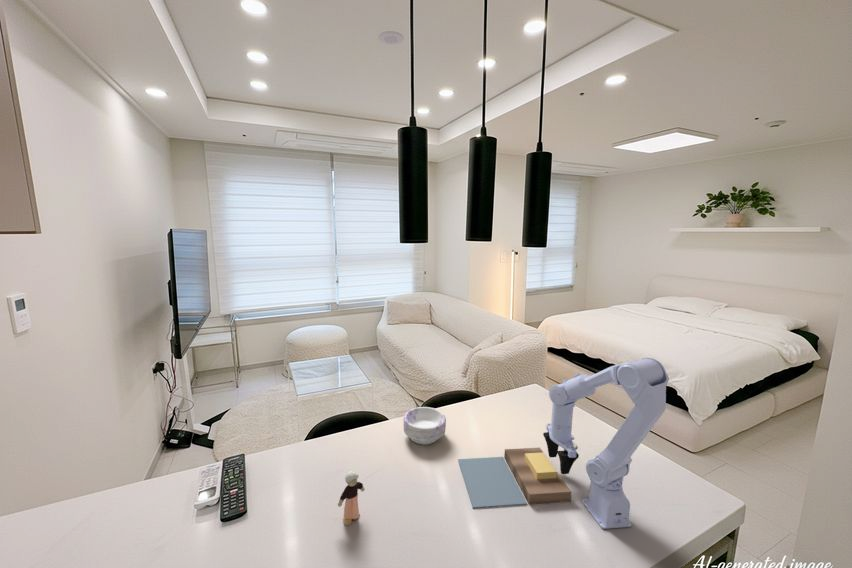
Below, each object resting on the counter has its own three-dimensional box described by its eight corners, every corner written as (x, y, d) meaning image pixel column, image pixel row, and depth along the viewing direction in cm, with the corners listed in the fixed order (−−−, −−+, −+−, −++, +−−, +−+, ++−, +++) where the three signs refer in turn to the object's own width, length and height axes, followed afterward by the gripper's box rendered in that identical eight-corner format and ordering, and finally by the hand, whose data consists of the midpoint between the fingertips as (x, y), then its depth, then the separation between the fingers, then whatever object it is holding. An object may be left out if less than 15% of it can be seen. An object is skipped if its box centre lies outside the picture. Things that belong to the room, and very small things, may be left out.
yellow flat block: (556, 478, 99) (557, 471, 99) (536, 479, 98) (537, 472, 98) (542, 458, 108) (543, 452, 108) (524, 459, 107) (524, 453, 107)
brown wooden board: (570, 501, 94) (571, 491, 94) (528, 504, 93) (529, 494, 92) (539, 455, 114) (539, 447, 113) (504, 457, 112) (504, 449, 112)
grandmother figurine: (347, 531, 83) (346, 483, 82) (336, 524, 85) (335, 477, 84) (368, 510, 90) (368, 466, 88) (357, 504, 92) (357, 460, 90)
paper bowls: (448, 449, 117) (448, 427, 116) (403, 450, 116) (403, 428, 114) (442, 425, 132) (443, 405, 131) (403, 426, 131) (403, 406, 130)
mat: (526, 504, 93) (527, 503, 93) (472, 508, 91) (472, 507, 91) (502, 457, 112) (502, 456, 112) (457, 460, 111) (458, 459, 111)
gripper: (588, 436, 95) (584, 480, 97) (562, 410, 109) (559, 449, 111) (564, 437, 94) (560, 482, 96) (541, 410, 109) (538, 450, 110)
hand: (558, 464), depth 104 cm, fingers open, 7 cm apart
